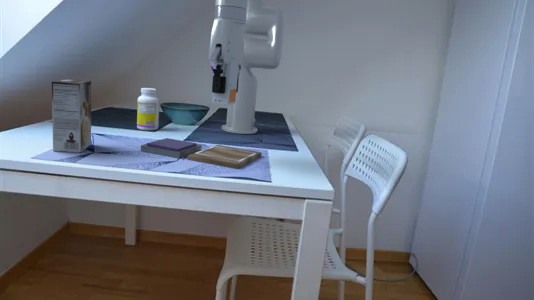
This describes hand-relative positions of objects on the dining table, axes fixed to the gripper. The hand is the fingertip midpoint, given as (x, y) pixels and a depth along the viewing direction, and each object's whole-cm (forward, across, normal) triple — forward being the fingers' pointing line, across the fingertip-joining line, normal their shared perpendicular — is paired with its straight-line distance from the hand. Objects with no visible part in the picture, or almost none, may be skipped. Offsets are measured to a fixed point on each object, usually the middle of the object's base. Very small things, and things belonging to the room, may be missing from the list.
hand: (225, 91), depth 100 cm
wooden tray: (+16, 0, +2) cm, 17 cm away
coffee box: (+17, +17, -31) cm, 39 cm away
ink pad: (+16, +3, -12) cm, 21 cm away
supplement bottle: (+17, -17, -35) cm, 42 cm away
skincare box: (+3, 0, 0) cm, 3 cm away
